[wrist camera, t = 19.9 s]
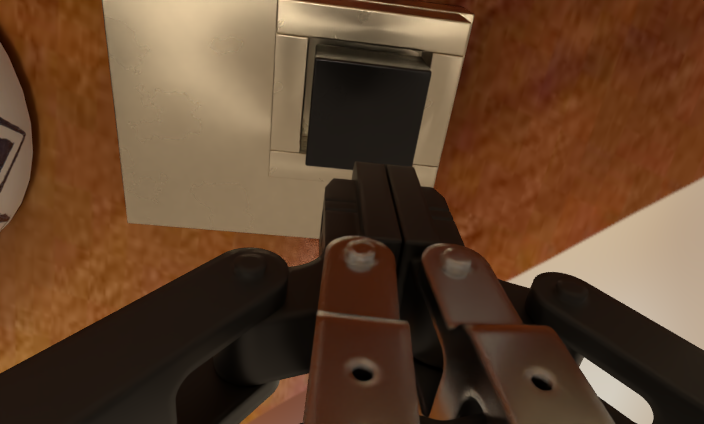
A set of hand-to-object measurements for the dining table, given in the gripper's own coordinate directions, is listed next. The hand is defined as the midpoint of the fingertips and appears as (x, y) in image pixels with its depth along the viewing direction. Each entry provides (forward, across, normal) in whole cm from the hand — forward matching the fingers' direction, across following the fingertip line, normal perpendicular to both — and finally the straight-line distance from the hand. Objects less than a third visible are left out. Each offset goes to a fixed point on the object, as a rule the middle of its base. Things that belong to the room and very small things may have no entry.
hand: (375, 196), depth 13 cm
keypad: (+11, +3, +2) cm, 11 cm away
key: (+8, 0, 0) cm, 8 cm away
